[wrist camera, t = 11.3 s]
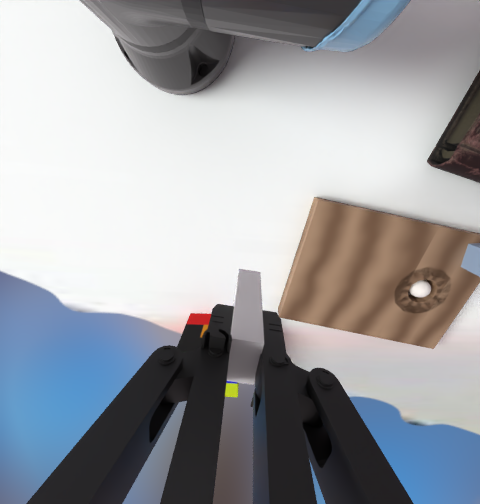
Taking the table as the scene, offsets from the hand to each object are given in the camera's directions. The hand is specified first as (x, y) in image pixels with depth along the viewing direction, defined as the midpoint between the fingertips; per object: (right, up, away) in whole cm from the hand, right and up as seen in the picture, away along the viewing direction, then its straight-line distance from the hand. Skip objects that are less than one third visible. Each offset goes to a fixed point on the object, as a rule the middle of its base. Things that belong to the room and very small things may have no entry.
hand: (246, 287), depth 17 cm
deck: (+23, -2, +25) cm, 34 cm away
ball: (+31, -4, +23) cm, 39 cm away
